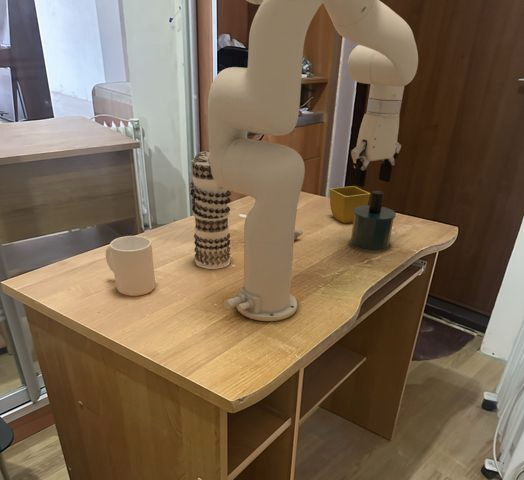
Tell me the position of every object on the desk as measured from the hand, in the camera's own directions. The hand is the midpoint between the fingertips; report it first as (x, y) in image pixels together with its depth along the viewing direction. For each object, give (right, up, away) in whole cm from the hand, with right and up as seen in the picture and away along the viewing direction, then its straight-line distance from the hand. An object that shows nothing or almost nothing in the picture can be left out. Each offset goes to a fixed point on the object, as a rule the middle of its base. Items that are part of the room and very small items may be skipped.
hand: (371, 183), depth 123 cm
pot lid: (+2, -7, +4) cm, 8 cm away
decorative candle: (-39, -20, -3) cm, 44 cm away
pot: (+1, -14, +9) cm, 16 cm away
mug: (-56, -28, -15) cm, 65 cm away
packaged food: (-23, -14, +7) cm, 28 cm away
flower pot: (-2, -3, +24) cm, 24 cm away
